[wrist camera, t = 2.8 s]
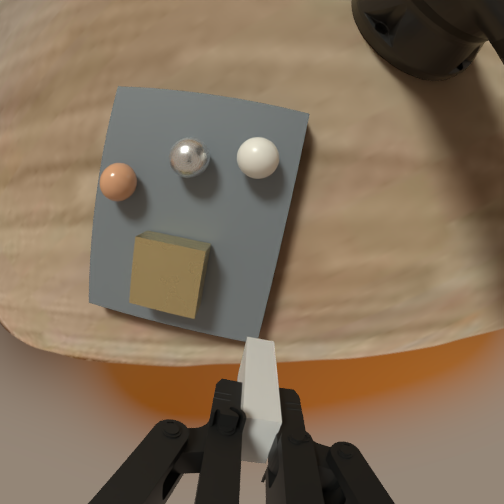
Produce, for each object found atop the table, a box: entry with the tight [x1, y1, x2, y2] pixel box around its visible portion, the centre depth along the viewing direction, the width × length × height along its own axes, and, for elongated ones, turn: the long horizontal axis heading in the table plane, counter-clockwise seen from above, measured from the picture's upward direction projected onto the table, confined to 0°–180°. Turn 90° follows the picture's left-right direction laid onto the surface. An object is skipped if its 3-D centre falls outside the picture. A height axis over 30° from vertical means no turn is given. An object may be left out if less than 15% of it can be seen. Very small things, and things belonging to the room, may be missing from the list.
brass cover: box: [129, 230, 211, 319], centre depth 27 cm, size 6×6×3 cm
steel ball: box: [169, 137, 210, 178], centre depth 25 cm, size 3×3×3 cm
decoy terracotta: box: [100, 163, 137, 201], centre depth 25 cm, size 3×3×3 cm
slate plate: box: [89, 86, 309, 342], centre depth 29 cm, size 22×18×2 cm
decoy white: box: [237, 137, 279, 179], centre depth 24 cm, size 3×3×3 cm
